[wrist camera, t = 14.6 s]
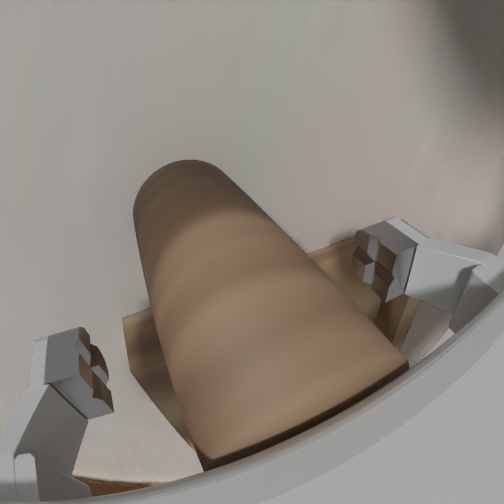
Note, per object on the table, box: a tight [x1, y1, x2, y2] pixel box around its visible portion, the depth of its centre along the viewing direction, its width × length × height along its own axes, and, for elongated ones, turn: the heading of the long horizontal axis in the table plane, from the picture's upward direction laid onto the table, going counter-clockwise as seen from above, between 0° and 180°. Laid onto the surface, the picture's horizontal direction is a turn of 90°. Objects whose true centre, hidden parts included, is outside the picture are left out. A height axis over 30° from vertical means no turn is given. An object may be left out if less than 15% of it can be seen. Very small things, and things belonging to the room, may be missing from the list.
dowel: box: [133, 160, 409, 472], centre depth 8 cm, size 4×4×9 cm
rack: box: [122, 219, 428, 452], centre depth 18 cm, size 14×16×3 cm
